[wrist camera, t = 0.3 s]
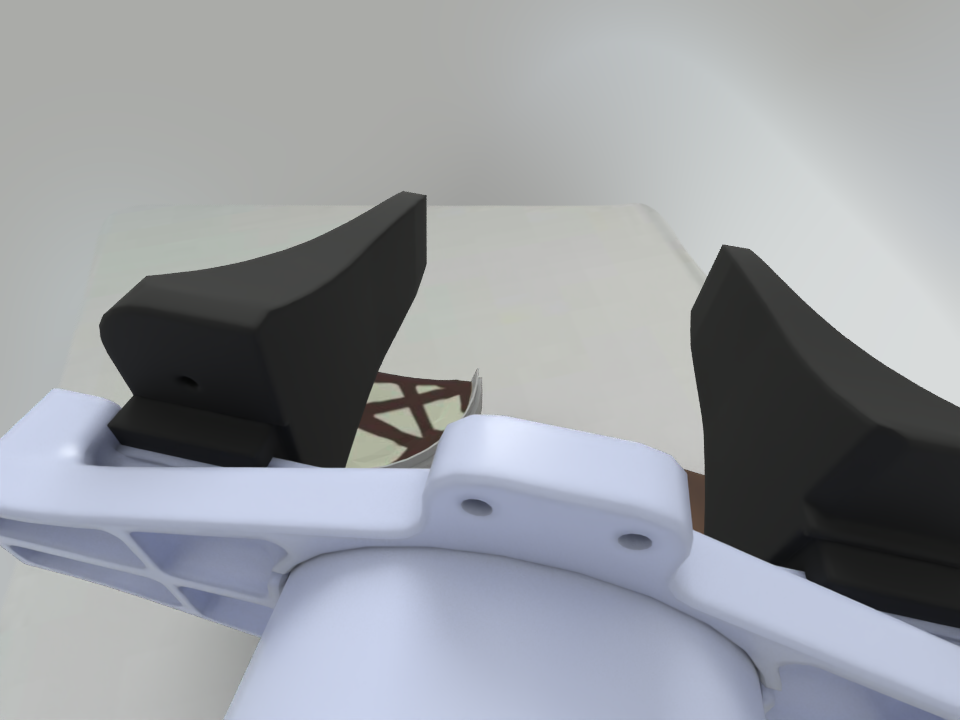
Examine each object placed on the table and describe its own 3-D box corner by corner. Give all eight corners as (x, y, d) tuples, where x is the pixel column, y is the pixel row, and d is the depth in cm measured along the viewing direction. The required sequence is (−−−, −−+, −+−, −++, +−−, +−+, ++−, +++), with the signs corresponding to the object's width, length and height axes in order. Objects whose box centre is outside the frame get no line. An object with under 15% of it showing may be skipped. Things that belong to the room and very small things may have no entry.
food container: (218, 569, 26) (159, 478, 18) (247, 460, 30) (209, 347, 22) (461, 572, 28) (498, 491, 20) (459, 469, 32) (490, 369, 24)
